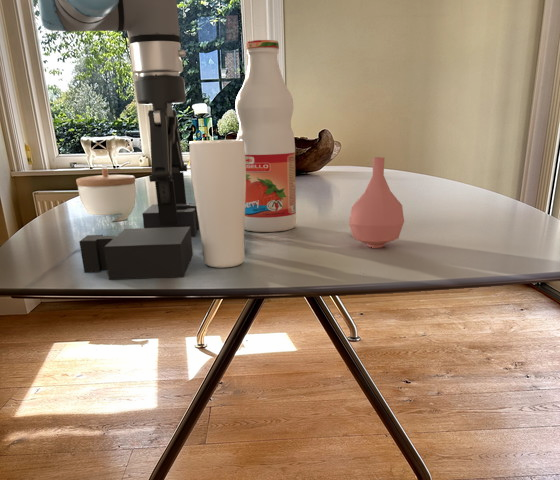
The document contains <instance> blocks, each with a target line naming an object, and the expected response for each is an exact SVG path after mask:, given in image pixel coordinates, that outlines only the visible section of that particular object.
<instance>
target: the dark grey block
mask: <svg viewBox="0 0 560 480" xmlns="http://www.w3.org/2000/svg"><path fill="white" fill-rule="evenodd" d="M176 208H177V218H178V224H174V225H160V219H159V210H158V203H157V204H151V205H150V206H149V207H148V208H146V210H145V211H144V212H142V214H141V215H142V222H143V223H142V224H143V228H165V227H191V238H195V237H196V236H197V234H198V231H200V228H199V221H198V215H197V209H196V203H195V202H193V203H190V202H189V203H187V202H186V204H176Z"/></svg>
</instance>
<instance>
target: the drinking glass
mask: <svg viewBox="0 0 560 480" xmlns="http://www.w3.org/2000/svg"><path fill="white" fill-rule="evenodd" d="M188 146H189V166H190V167H189V168H190V177H191V184H192V192H193V196H194V203H196V209H197V215H198V221H199V233H200V239H201V246H202V258H203V259H202V260H203V263H204V264H205V265H206V266H208V267H210V268H211V267H212V268H217V269H218V268H219V269H220V268H221V269H222V268H223V269H224V268H225V269H226V268H233V267H237V266H240V265H242V264H243V263H244V262H245V230H244V228H245V198H246V159H245V148H244V141H243V140H237V139H210V140H209V139H207V140H195V141H193V140H192V141H189V143H188Z"/></svg>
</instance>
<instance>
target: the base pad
mask: <svg viewBox="0 0 560 480" xmlns="http://www.w3.org/2000/svg"><path fill="white" fill-rule="evenodd" d="M192 238H193V237H191V227H165V228H144V227H140V228H139V227H138V228H124V229H122V230H121V231H120V232H119V233H118V234H117V235H103V234H88V235H86V236H85V237H83V238H82V239H81V240H79V241H78V242H79V248H80V254H81V261H82V266H83V272H84V273H85V274H87V273H89V274H91V273H101V272H102V271H107V275H108V280H109V281H111V280H113V281H114V280H135V279H137V280H138V279H141V280H142V279H166V278H167V279H168V278H169V279H170V278H184V277H185V275H186V272H187V270H188V268H189V265H190V263H191V261H192V258H193V257H194V252H193V251H194V250H193V239H192Z"/></svg>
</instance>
